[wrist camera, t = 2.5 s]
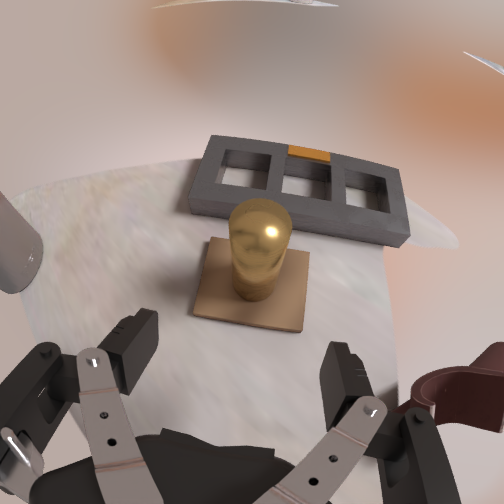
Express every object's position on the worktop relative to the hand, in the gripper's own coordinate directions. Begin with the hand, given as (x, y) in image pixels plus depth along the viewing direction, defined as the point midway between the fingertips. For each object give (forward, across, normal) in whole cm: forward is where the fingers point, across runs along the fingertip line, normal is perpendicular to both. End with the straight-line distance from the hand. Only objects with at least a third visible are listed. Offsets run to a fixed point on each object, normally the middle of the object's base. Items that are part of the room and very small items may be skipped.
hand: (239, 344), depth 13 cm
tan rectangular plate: (+15, 0, +4) cm, 15 cm away
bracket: (+8, -22, +12) cm, 26 cm away
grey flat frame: (+23, -4, -5) cm, 24 cm away
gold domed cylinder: (+14, 0, +3) cm, 15 cm away
